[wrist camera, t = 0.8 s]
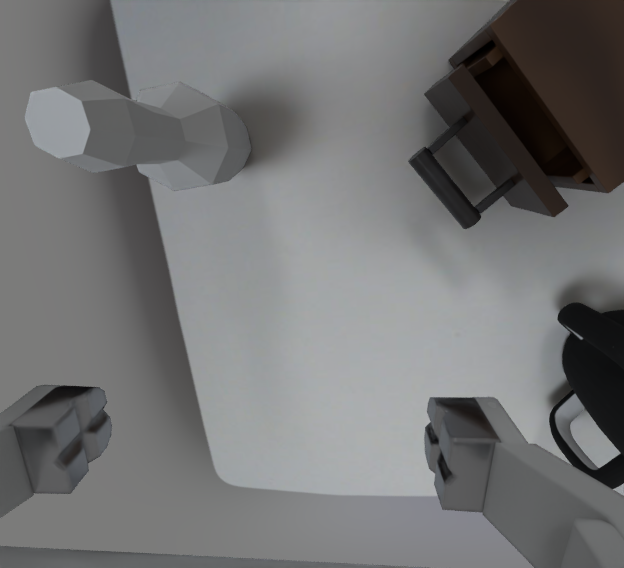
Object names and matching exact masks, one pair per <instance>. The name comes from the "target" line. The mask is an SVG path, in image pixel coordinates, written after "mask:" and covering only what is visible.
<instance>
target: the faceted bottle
mask: <svg viewBox="0 0 624 568" xmlns="http://www.w3.org/2000/svg"><path fill="white" fill-rule="evenodd" d="M25 121H26V124H27V126H28V129H29V132H30V134H31V137H32V140H33V143H34V145H35V146H37V147H39V148H40V149H42V150H44V151H46V152H48V153H50V154H52V155H53V156H55V157H57V158H59V159H62V160H64V161H66V162H69V163H71V164H73V165H76V166H78V167H81V168H83V169H86V170H88V171H90V172H92V173H96V172H101V171H106V170H112V169H117V168H123V167H127V166H131V165H137V168H138V171H139V172H140V173H142V174H144V175H146V176H148V177H149V178H151V179H153V180H155V181H157V182H159V183H161V184H162V185H164V186H166V187H168V188H170V189H172V190H174V191H179V190H184V189H190V188H196V187H201V186H207V185H213V184H217V183H222V182H226V181H229V180H231V179H232V178H233V177H234V176H235V175H236V174H237V173H238V172H239V171H240V170H242V169H243V167H244V165H245V163H246V160H247V158H248V156H249V154H250V152H251V150H252V149H251V145H250V140H249V135H248V130H247V127H246V126H245V124H244V123H243V122H242V120H241V119H240V118H239V116H238V115H237V114H236V112H234V111H233V110H231V109H229V108H227V107H226V106H224V105H222V104H220V103H219V102H217V101H215V100H214V99H212V98H210V97H208V96H207V95H205V94H203V93H201V92H199V91H197V90H195V89H193V88H191V87H189V86H187V85H185V84H183V83H181V82H177V83H172V84H167V85H162V86H158V87H153V88H148V89H143V90H140V92H139V95H138V98H137V101H134V100H131V99H129V98H127V97H125V96H123V95H121V94H119V93H117V92H115V91H113V90H111V89H109V88H107V87H105V86H103V85H101V84H99V83H96V82H95V81H93V80H89V81H84V82H79V83H74V84H68V85H63V86H58V87H53V88H48V89H43V90H39V91H34V92H31V95H30V98H29V102H28V106H27V110H26V114H25Z"/></svg>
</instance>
